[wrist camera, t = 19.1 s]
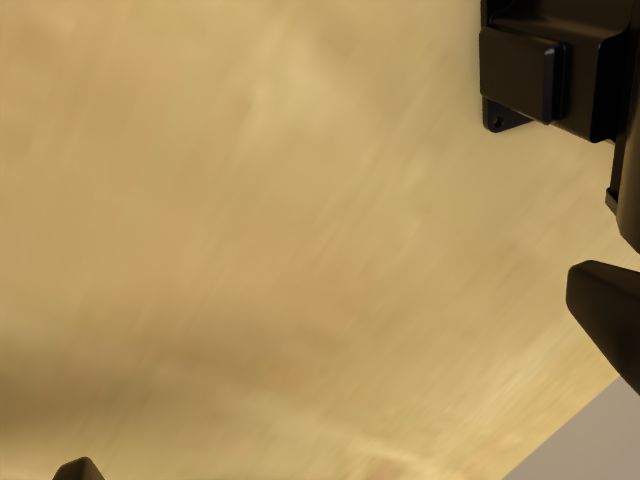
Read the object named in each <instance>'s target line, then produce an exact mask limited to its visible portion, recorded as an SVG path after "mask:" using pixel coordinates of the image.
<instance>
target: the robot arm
mask: <svg viewBox="0 0 640 480" xmlns="http://www.w3.org/2000/svg"><path fill="white" fill-rule="evenodd" d="M479 57H480V93H481V94H482V105H483V125H484V127H485V128H486V129H487V130H489V131H491V132H494V133H497V132H501V131H504V130H507V129H510V128H513V127H516V126H519V125H522V124H525V123H528V122H531V121H534V120H535V121H538V122H540V123H542V124H544V125H549V124H552V125H554V126H556V127H558V128H561V129H563V130H565V131H567V132H569V133H572V134H574V135H576V136H578V137H580V138H583V139H585V140H587V141H589V142H592V143H598V142H601V141H606V142H608V143H610V144H612V145H615V151H614V159H613V167H612V175H611V183H610V187H609V188H607V190H606V198H605V203H606V205H607V206H608V207H609V208H610V210H611V211H612V212H613V213H614V215H615V216H616V221H617V224H618V228H619V231H620V234H621V236H622V237H623V238H624V239H625V240H626V241H627V242H628V243H629V244H630V245H631V247H632V248H633V249H634V250H635V251H636V252H637V253H639V254H640V0H481V31H480V34H479ZM497 116H498V120H497V122H496V123H494V124H493V121H494V119H495V118H496V117H497ZM566 304H567V307H568V309H569V311H570V312H571V314H572V315H573V316H574V318H575V319H576V320H577V321H578V323H579V324H580V325H581V327H582V328H583V329H584V330H585V332H586V333H587V334H588V335H589V337H590V338H591V339H592V341H593V342H594V343H595V344H596V346H597V347H598V348H599V349H600V351H601V352H602V353H603V355H604V356H605V357H606V358H607V360H608V361H609V362H610V364H611V365H612V366H613V367H614V368H615V370H616V371H617V372H618V373H619V374H620V375H621V377H622V378H623V379H624V380H625V381H626V382H627V383H628V384H629V385H630V386H631V387H632V388H633V389H634V391H636V393H638V395H639V396H640V272H637V271H633V270H629V269H625V268H621V267H618V266H614V265H610V264H606V263H602V262H598V261H594V260H587V261H584V262H582V263H579V264H576V265H574V266H572V267H570V269H569V271H568V277H567V288H566ZM52 480H105V479H104V477H103V476H102V475H101V473H100V472H99V470H98V469H97V467H96V466H95V464H94V463H93V461H92V460H91V459H90V458H88V457H81V458H79V459H76V460H73V461H71V462H68V463H66V464H64V465H62V466H61V467H60V468H59V469H58V471H57V472H56V474H55V476H54V478H53V479H52Z"/></svg>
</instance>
